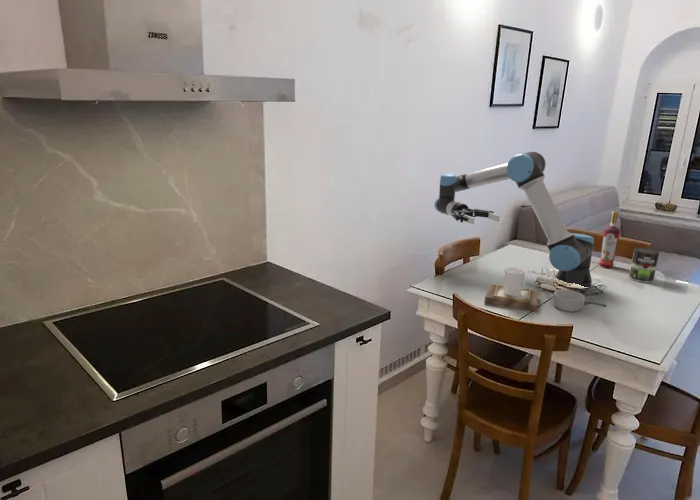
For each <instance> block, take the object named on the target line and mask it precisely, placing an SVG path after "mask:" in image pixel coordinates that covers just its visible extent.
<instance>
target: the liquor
mask: <svg viewBox="0 0 700 500" xmlns="http://www.w3.org/2000/svg"><path fill="white" fill-rule="evenodd" d="M618 215H619V211H614V210H613V211H612V212H611V219H610V224H609V226H607V227H605V228H604V229H603V236H602V243H601V253H600V261H599V262H598V264H599V265H600V267H602V268H606V269H611V268H613V267H614V266H615V264H614V263H615V257H616V254H617V253H616V251H617V248H618V244H619V239H620V235H621V230H620V229H619V228H618V227H617V219H618Z"/></svg>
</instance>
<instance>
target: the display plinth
mask: <svg viewBox="0 0 700 500" xmlns="http://www.w3.org/2000/svg"><path fill="white" fill-rule="evenodd" d="M539 294H540V291H539V290H535V289H532V288H526V287H522V290H521V295H520V296H509V295H506V294H505V293H504V284H499V283H498V284H493V283H492V284H491V283H490V284H489V286H488V289H487V291H486V294H485V296H484V304H485V305H489V306H497V307H502V308H509V309H515V310H516V309H517V310H521V311H529V312H535V313H537V309H538V302H539Z"/></svg>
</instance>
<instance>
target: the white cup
mask: <svg viewBox="0 0 700 500" xmlns="http://www.w3.org/2000/svg"><path fill="white" fill-rule="evenodd" d="M525 272H526V271H525V270H524V269H522V268H518V267H506V268H504V273H503V274H504V277H503V285H504V293H505V294H506V295H509V296H520V295H521V290H522V288H523V285H524V281H525V279H524V278H525V274H526V273H525Z"/></svg>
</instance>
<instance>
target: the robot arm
mask: <svg viewBox="0 0 700 500" xmlns="http://www.w3.org/2000/svg"><path fill="white" fill-rule="evenodd" d="M546 163H547V162H546V159H545V158H544V156H543V155H542V154H540V153H539V152H536V151H528V152H520V153H518V154H515V155H514V156H512V157H511V158H510V159H509V161H508V162H506V163H502V164H499V165H495V166H491V167H487V168H484V169H480V170H476V171H472V172H468V173H464V174H460V175H458V176H456V174H454V173H442V174H441V175H440V179H439V191H438V192H439V193H438V194H439V195H438V197H437V198H436V200H435V202H434V208H435V210H436V211H437V212H439V214H440V213H441V214H443V215H446V216H450V217H452V218H453V219H455V221H457V222H458V221H459V222H460V223H464V222H466V223H469V224H471V225H474V224H475V218H476V217H478V218H487V219H488V220H492V221H495V222H500V216H501V215H500V214H496V213H495V211H492V210H484V209H479V208H470V207H469V206H468V204H465V203H463V202H460V201H456V200H455V198H456V193H457V192H461V191H466V190H470V189H473V188H478V187H481V186H485V185H491V184H495V183H498V182H502V181H507V180H511V181H512V182H515V184H516V185H517V188H518V190H522V191H524V193H525V195H526V197H527V199H528V201H529V203H530V205H531V207H532V210H533V211H534V214H535V216H536V217H537V220H538V222H539V224H540V226H541V228H542V229H543V230H542V231H543V232H544V234H545V236H546V238H547V243H546V247H547V249H548V250H549V255H548V259H549V263H550V264H551V265H552V267H553V268H555V269H556V270H558V271H557V273H556V274H555V279H556V278H557V279H559V280H562V281H564V282H567V283H575V284H579V285H581V286H584V287H590V286H591V287H592V283H593V282H592V276H591V271H590V267H591V262H592V257H593V249H594V246H595V239H594V237H593V236H591V235H588V234H583V233H576V232H569V231H568V229H567V227H566V225H565V223H564V220H563V219H562V217H561V215H560V212H559V211H558V209H557V207H556V204H555V202H554V201H553V199H552V196H551V195H550V193H549V191H548V188H547V187H546V184H545V183H544V179H545V174H544V171H545V169H546V165H547V164H546ZM591 287H590V288H591Z"/></svg>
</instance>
